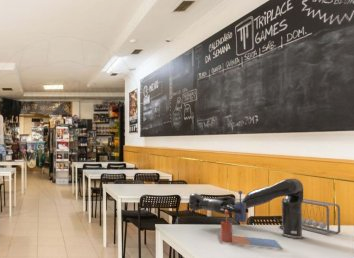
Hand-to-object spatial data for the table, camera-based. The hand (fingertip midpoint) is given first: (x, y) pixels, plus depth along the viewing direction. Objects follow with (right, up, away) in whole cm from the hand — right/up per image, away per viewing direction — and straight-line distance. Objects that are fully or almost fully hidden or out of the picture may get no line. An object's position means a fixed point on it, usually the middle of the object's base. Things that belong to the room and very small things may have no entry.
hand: (244, 211), depth 187 cm
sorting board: (0, -16, -4) cm, 16 cm away
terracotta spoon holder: (-12, -15, -5) cm, 20 cm away
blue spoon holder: (-1, -6, +2) cm, 6 cm away
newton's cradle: (+56, -18, +27) cm, 65 cm away
